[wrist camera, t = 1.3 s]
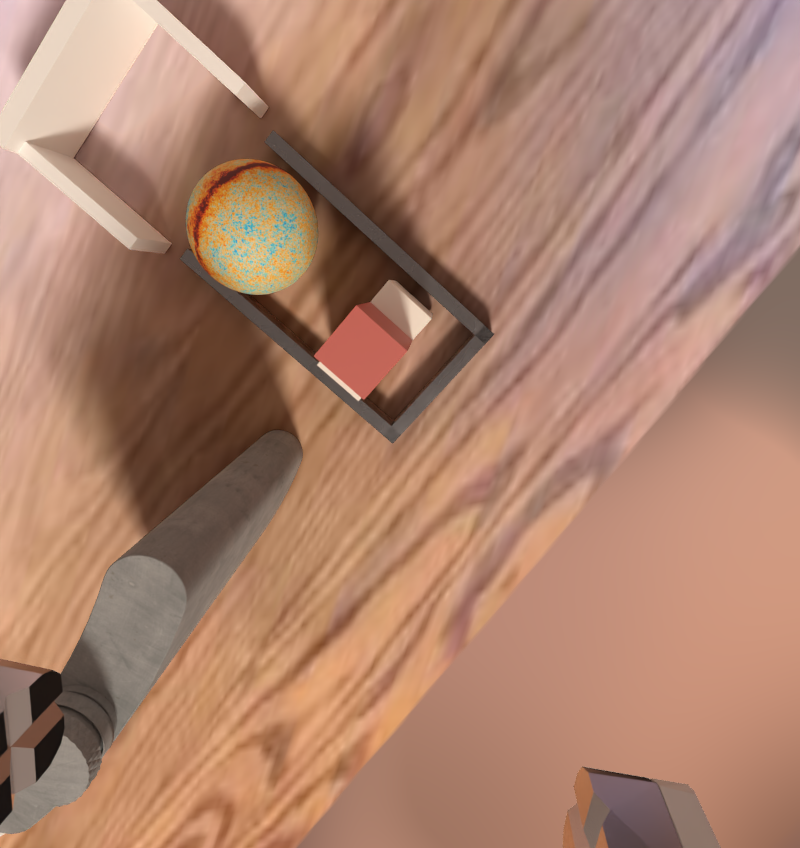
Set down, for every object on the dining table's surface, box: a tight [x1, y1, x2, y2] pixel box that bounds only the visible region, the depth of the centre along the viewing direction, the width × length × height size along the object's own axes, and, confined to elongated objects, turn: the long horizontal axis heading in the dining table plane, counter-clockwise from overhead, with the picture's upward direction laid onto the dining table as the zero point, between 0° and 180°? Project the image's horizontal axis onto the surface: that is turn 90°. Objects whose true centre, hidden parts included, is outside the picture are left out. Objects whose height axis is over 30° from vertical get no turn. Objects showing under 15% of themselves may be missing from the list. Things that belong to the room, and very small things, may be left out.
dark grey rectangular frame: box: [180, 131, 494, 443], centre depth 33 cm, size 9×17×2 cm, turn 49°
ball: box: [186, 159, 318, 295], centre depth 30 cm, size 7×7×7 cm
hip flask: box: [0, 430, 303, 834], centre depth 29 cm, size 16×4×20 cm, turn 144°
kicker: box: [314, 280, 433, 401], centre depth 29 cm, size 6×3×10 cm, turn 139°
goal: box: [0, 0, 269, 254], centre depth 30 cm, size 11×8×5 cm
